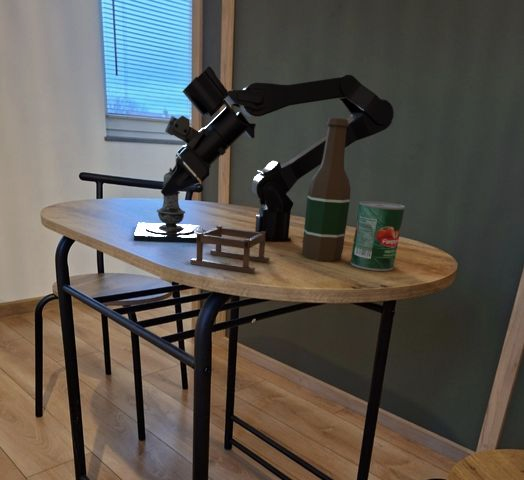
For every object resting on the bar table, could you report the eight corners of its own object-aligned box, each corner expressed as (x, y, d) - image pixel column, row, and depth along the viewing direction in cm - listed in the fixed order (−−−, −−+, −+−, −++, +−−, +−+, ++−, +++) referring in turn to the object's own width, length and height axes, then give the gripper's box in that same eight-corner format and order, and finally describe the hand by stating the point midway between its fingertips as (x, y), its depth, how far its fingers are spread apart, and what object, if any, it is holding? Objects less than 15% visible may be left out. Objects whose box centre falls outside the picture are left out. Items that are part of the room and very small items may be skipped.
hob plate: (201, 229, 107) (201, 224, 107) (205, 242, 95) (205, 236, 94) (138, 227, 105) (137, 221, 104) (133, 240, 92) (133, 233, 92)
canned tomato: (354, 258, 92) (363, 199, 87) (395, 264, 89) (407, 204, 85) (346, 266, 85) (355, 203, 80) (390, 273, 82) (402, 209, 78)
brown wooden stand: (212, 253, 87) (213, 224, 85) (269, 261, 84) (271, 232, 82) (190, 264, 79) (190, 232, 77) (252, 273, 76) (254, 241, 74)
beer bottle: (343, 255, 93) (362, 121, 84) (338, 263, 86) (359, 118, 77) (305, 250, 95) (319, 118, 85) (297, 258, 88) (312, 115, 78)
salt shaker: (171, 225, 103) (171, 166, 98) (191, 229, 100) (191, 169, 95) (150, 227, 99) (149, 166, 94) (170, 232, 96) (169, 169, 91)
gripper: (188, 103, 98) (135, 156, 101) (192, 98, 82) (129, 162, 84) (224, 147, 103) (173, 197, 106) (235, 150, 87) (174, 209, 89)
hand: (162, 191), depth 96 cm, fingers open, 9 cm apart
